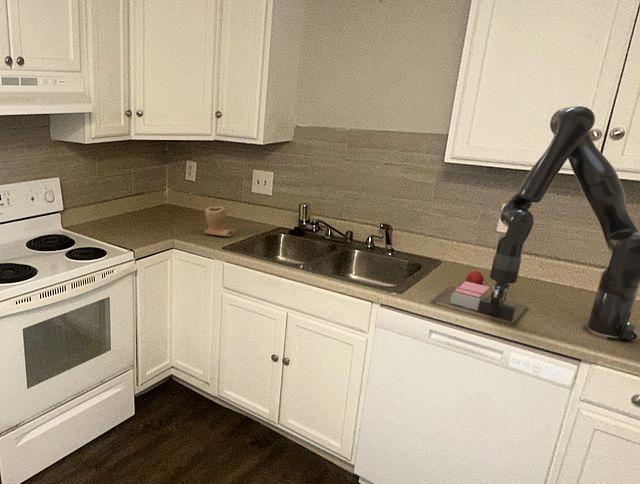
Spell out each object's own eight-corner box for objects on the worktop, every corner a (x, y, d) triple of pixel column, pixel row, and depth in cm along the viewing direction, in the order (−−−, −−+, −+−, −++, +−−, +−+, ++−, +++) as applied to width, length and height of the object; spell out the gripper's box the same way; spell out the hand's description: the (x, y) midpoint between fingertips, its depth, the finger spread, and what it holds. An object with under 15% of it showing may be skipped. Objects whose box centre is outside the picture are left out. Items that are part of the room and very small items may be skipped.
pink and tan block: (479, 305, 184) (482, 294, 182) (477, 307, 181) (479, 296, 180) (455, 298, 189) (457, 288, 188) (452, 300, 187) (454, 290, 186)
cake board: (526, 308, 184) (527, 305, 184) (513, 325, 170) (513, 322, 170) (450, 289, 201) (450, 286, 200) (432, 303, 187) (432, 300, 187)
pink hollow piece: (199, 235, 268) (200, 207, 263) (210, 230, 278) (211, 203, 273) (226, 240, 260) (227, 211, 256) (236, 235, 270) (238, 207, 265)
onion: (465, 284, 205) (469, 265, 203) (482, 288, 202) (486, 268, 199) (463, 288, 201) (466, 269, 199) (480, 292, 197) (484, 272, 195)
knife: (513, 318, 173) (515, 307, 172) (511, 320, 172) (513, 309, 170) (451, 301, 186) (453, 291, 185) (449, 303, 184) (451, 293, 183)
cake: (487, 297, 191) (490, 287, 189) (480, 303, 184) (483, 293, 183) (463, 291, 196) (465, 281, 195) (456, 297, 190) (458, 287, 189)
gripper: (514, 274, 163) (502, 324, 168) (524, 264, 173) (512, 312, 178) (487, 268, 168) (476, 317, 174) (498, 259, 178) (488, 305, 183)
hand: (495, 314), depth 176 cm, fingers closed on knife, 2 cm apart
